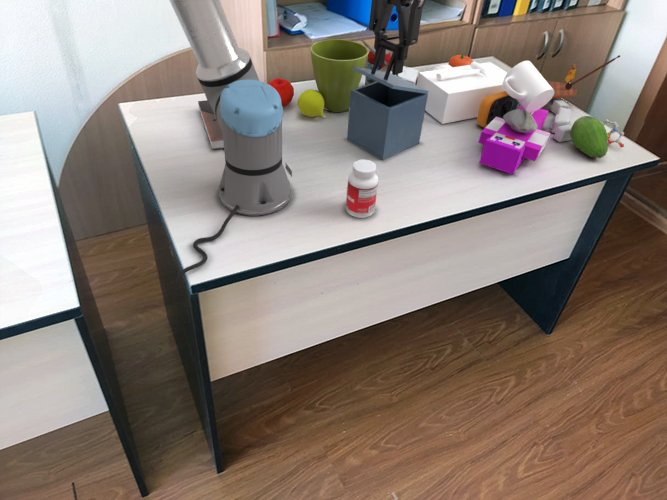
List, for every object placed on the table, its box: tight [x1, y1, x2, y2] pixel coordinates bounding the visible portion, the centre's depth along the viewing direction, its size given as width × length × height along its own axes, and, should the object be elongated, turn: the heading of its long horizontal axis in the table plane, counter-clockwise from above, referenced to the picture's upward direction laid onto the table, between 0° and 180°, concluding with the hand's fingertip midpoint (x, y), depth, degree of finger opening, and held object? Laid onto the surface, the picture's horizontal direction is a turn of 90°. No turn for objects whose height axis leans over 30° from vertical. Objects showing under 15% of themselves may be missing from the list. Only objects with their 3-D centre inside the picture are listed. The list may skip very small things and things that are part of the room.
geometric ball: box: [433, 63, 452, 70], centre depth 159 cm, size 8×8×8 cm
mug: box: [502, 60, 554, 114], centre depth 137 cm, size 12×8×10 cm
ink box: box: [398, 65, 420, 84], centre depth 144 cm, size 9×5×12 cm, turn 166°
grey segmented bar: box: [550, 98, 574, 143], centre depth 147 cm, size 20×4×7 cm
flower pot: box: [310, 38, 369, 113], centre depth 144 cm, size 15×15×16 cm
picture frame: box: [197, 99, 224, 150], centre depth 137 cm, size 16×2×22 cm
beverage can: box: [364, 46, 392, 85], centre depth 155 cm, size 7×7×12 cm
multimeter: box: [476, 91, 521, 129], centre depth 146 cm, size 9×18×3 cm
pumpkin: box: [447, 53, 474, 67], centre depth 168 cm, size 8×8×7 cm
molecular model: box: [603, 118, 625, 148], centre depth 141 cm, size 7×8×8 cm
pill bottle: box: [345, 159, 379, 219], centre depth 109 cm, size 6×6×11 cm
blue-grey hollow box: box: [346, 81, 428, 161], centre depth 131 cm, size 14×13×13 cm
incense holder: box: [546, 54, 621, 99], centre depth 156 cm, size 21×30×11 cm
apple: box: [267, 78, 295, 108], centre depth 145 cm, size 8×8×7 cm
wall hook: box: [358, 36, 398, 77], centre depth 148 cm, size 5×30×4 cm
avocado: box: [571, 115, 609, 159], centre depth 136 cm, size 8×8×12 cm
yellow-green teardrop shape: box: [297, 88, 327, 120], centre depth 141 cm, size 7×7×10 cm
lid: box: [353, 38, 429, 94], centre depth 124 cm, size 14×13×9 cm
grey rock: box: [503, 109, 538, 133], centre depth 130 cm, size 12×8×5 cm
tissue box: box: [417, 61, 508, 125], centre depth 150 cm, size 14×25×11 cm, turn 116°
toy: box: [478, 105, 552, 175], centre depth 136 cm, size 14×6×30 cm
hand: (388, 68), depth 122 cm, fingers closed on lid, 5 cm apart
